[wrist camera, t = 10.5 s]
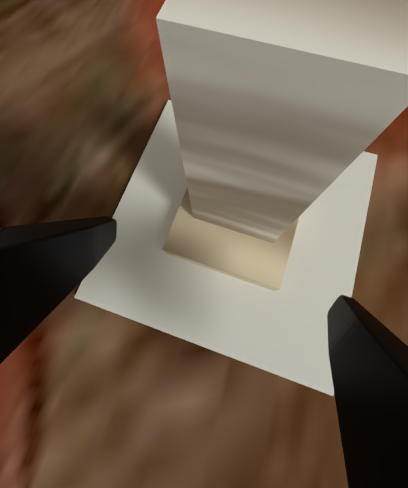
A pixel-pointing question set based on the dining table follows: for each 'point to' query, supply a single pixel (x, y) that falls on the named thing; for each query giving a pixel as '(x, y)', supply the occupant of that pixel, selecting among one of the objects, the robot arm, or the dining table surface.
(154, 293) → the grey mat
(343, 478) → the dining table surface
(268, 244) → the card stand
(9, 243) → the robot arm
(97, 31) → the dining table surface
